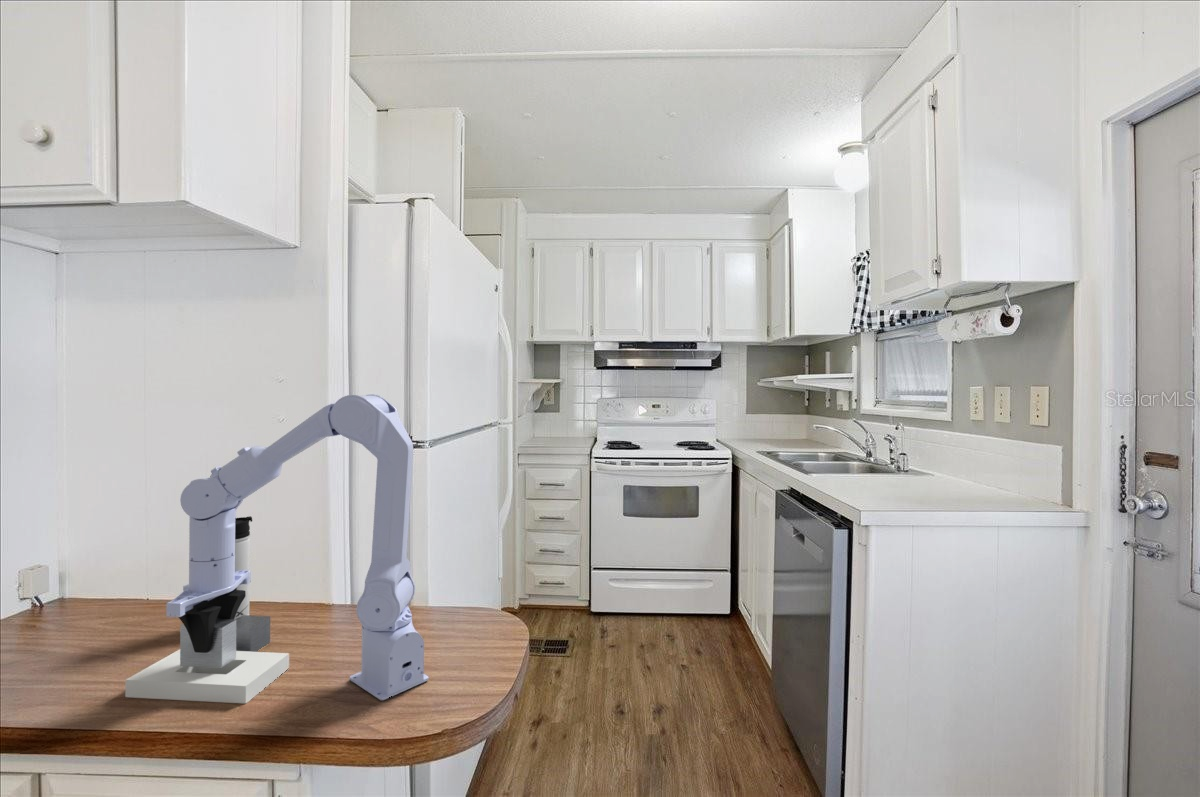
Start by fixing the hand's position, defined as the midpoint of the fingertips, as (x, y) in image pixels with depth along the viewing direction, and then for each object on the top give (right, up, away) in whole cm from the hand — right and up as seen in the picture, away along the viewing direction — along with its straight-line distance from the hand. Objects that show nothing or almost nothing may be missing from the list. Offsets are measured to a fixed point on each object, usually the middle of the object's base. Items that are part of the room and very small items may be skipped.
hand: (211, 646), depth 85 cm
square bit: (-1, -6, +11) cm, 12 cm away
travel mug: (-11, -5, +21) cm, 24 cm away
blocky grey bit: (0, -3, 0) cm, 3 cm away
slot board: (0, -6, 0) cm, 6 cm away
